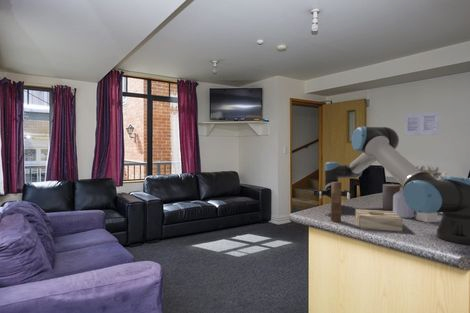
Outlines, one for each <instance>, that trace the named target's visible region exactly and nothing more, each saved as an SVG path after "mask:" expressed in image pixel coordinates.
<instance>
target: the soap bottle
mask: <svg viewBox="0 0 470 313" xmlns="http://www.w3.org/2000/svg"><path fill="white" fill-rule="evenodd" d="M402 188H403V186H400V191H399V192H397V193H395V194H394V195H393V212H394V213H396V214H397V215H398V216H399V217H401V218H402V219H412V218H413V217H414V212H415V211H413V210H412V209H410V208H409V207H408V206H407V204H406V203H405V201H404V199H405V197H403V190H402Z"/></svg>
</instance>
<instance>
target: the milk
mask: <svg viewBox="0 0 470 313" xmlns="http://www.w3.org/2000/svg"><path fill="white" fill-rule="evenodd" d="M431 175H432V176H433V174H431ZM415 217H416V221H420V222H424V223H437V222H438V213H419V212H416V216H415Z"/></svg>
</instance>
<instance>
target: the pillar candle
mask: <svg viewBox="0 0 470 313" xmlns="http://www.w3.org/2000/svg"><path fill="white" fill-rule="evenodd" d="M400 186H402V185H401V184H396V183H393V182H392V183H384V184H382V209H384V211H393V195H394V194H395V193H397V192H399V191H400Z"/></svg>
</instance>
